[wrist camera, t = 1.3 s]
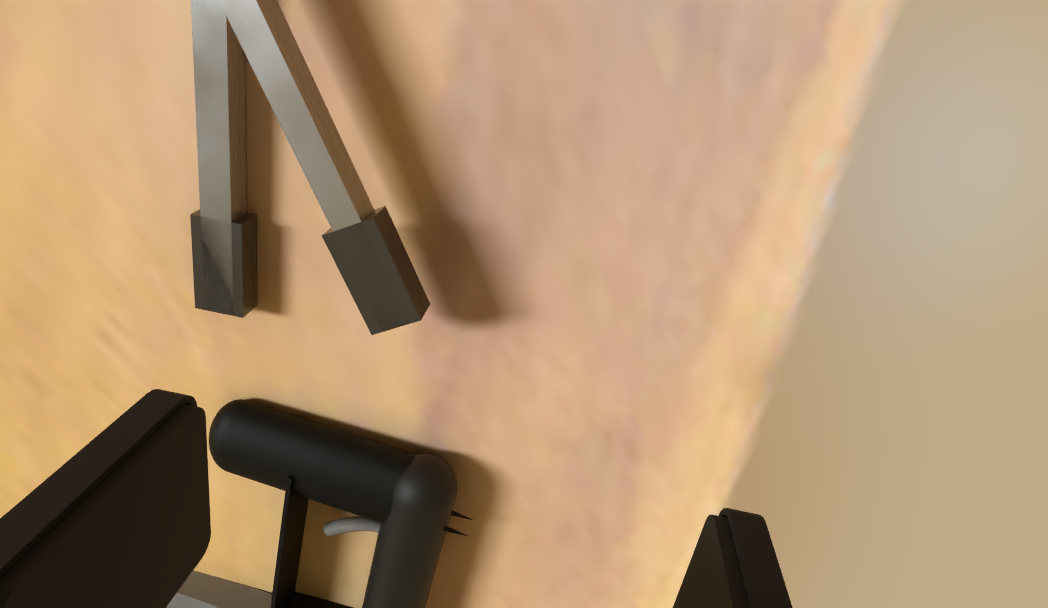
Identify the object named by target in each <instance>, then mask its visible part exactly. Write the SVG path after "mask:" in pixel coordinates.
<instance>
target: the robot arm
mask: <svg viewBox="0 0 1048 608" xmlns="http://www.w3.org/2000/svg"><path fill="white" fill-rule="evenodd" d="M210 537H211V525H210V503H209V481H208V459H207V437H206V416H205V411H204V410H203V409H202V408H200V407H197V403H196V400H195V399H194V397H192V396H188V395H184V394H179V393H174V392H169V391H165V390H160V389H155V390H152V391H150V392H149V393H147V394H146V395H145V396H144V397H142V398H141V399H140V400H139V401H138V402H137V403H135V404H134V405H133V406H132V407H131V408H130V409H128V410H127V411H126V412H125V413H124V414H123V415H121V416H120V417H119V418H118V419H117V420H116V421H114V422H113V423H112V424H111V425H110V426H108V427H107V428H106V429H105V430H104V431H103V432H101V433H100V434H99V435H98V436H97V437H96V438H94V439H93V440H92V441H91V442H90V443H89V444H87V445H86V446H85V447H84V448H83V449H81V450H80V451H79V452H78V453H77V454H76V455H74V456H73V457H72V458H71V459H70V460H69V461H67V462H66V463H65V464H64V465H63V466H62V467H60V468H59V469H58V470H57V471H56V472H54V473H53V474H52V475H51V476H50V477H49V478H47V479H46V480H45V481H44V482H43V483H42V484H40V485H39V486H38V487H37V488H36V489H35V490H33V491H32V492H31V493H30V494H29V495H28V496H26V497H25V498H24V499H23V500H22V501H20V502H19V503H18V504H17V505H16V506H15V507H13V508H12V509H11V510H10V511H9V512H8V513H6V514H5V515H4V516H3V517H2V518H1V519H0V608H166V607H167V606H168V604H169V603H170V601H171V600H172V599H173V597H174V596H175V594H176V593H177V592H178V590H179V589H180V588H181V586H182V585H183V583H184V582H185V581H186V579H187V578H188V577H189V575H190V574H191V572H192V571H193V570H194V568H195V567H196V566H197V564H198V563H199V561H200V560H201V559H202V557H203V555H204V554H205V552H206V550H207V547H208V544H209V541H210ZM673 608H792V605H791V602H790V598H789V595H788V592H787V589H786V586H785V582H784V580H783V576H782V573H781V570H780V567H779V563H778V560H777V557H776V554H775V551H774V547H773V544H772V541H771V538H770V534H769V531H768V528H767V525H766V522H765V520H764V518H763V517H762V516H761V515H758V514H753V513H748V512H743V511H739V510H734V509H729V508H723V510H722V511H721V512H720V514H719V516H716V515H709V516H708V517H707V519H706V521H705V524H704V527H703V529H702V532H701V535H700V537H699V540H698V543H697V545H696V548H695V550H694V553H693V556H692V558H691V561H690V564H689V566H688V569H687V572H686V574H685V577H684V580H683V582H682V585H681V587H680V590H679V593H678V595H677V598H676V601H675V603H674V606H673Z"/></svg>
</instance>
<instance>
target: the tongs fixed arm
mask: <svg viewBox="0 0 1048 608" xmlns="http://www.w3.org/2000/svg"><path fill="white" fill-rule="evenodd" d="M191 13H192V35H193V57H194V80H195V102H196V124H197V147H198V169H199V191H200V210H198V211H196V212H194V213H192V214H190V215H191V235H192V254H193V273H194V293H195V308H198V309H203V310H208V311H213V312H218V313H223V314H228V315H232V316H237V317H242V318H243V317H244V316H246V315H247V314H248V313H249V312H250V311H251V310H252V309H254V308H255V307H256V306H257V215H252V214H247V194H246V120H245V52H244V50H243V48H242V46H241V44H240V42H239V40H238V38H237V36H236V34H235V32H234V30H233V28H232V26H231V24H230V22H229V20H228V18H227V16H226V14H225V12H224V10H223V8H222V6H221V4H220V2H219V0H191Z"/></svg>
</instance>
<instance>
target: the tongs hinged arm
mask: <svg viewBox="0 0 1048 608" xmlns="http://www.w3.org/2000/svg"><path fill="white" fill-rule="evenodd" d="M219 2H220V4H221V6H222V8H223V10H224V12H225V14H226V16H227V18H228V20H229V22H230V24H231V26H232V28H233V30H234V32H235V34H236V36H237V38H238V40H239V42H240V44H241V46H242V48H243V50H244V52H245V54H246V56H247V58H248V61H249V63H250V65H251V67H252V69H253V71H254V73H255V75H256V77H257V79H258V81H259V83H260V85H261V87H262V89H263V91H264V93H265V95H266V97H267V99H268V101H269V103H270V105H271V107H272V109H273V111H274V113H275V115H276V117H277V119H278V121H279V123H280V125H281V127H282V129H283V131H284V133H285V135H286V137H287V139H288V141H289V143H290V145H291V147H292V149H293V152H294V154H295V156H296V158H297V160H298V162H299V164H300V166H301V168H302V170H303V172H304V174H305V176H306V178H307V180H308V182H309V184H310V186H311V188H312V190H313V192H314V194H315V196H316V198H317V200H318V202H319V204H320V206H321V208H322V210H323V212H324V214H325V216H326V218H327V220H328V222H329V224H330V226H331V228H330V229H329V230H328V231H327V232H325V233H324V234H323V235H322V237H323V239H324V241H325V243H326V245H327V247H328V249H329V251H330V253H331V255H332V257H333V259H334V261H335V263H336V265H337V267H338V269H339V271H340V273H341V275H342V277H343V279H344V281H345V283H346V285H347V287H348V289H349V291H350V293H351V295H352V297H353V299H354V301H355V303H356V305H357V307H358V309H359V311H360V313H361V315H362V317H363V319H364V321H365V323H366V325H367V327H368V329H369V331H370V333H371V335H374V334H377V333H380V332H384V331H387V330H390V329H394V328H397V327H400V326H404V325H407V324H410V323H414V322H417V321H420V320H421V319H422V318H423V316H424V314H425V312H426V311H427V309H428V307H429V305H430V303H429V300H428V298H427V296H426V294H425V292H424V289H423V287H422V285H421V283H420V281H419V278H418V276H417V274H416V272H415V270H414V267H413V265H412V263H411V261H410V259H409V257H408V254H407V252H406V250H405V248H404V246H403V243H402V241H401V239H400V237H399V235H398V232H397V230H396V228H395V226H394V224H393V222H392V219H391V217H390V215H389V213H388V211H387V208H386V206H384V207H382V208H379V209H376V210H374V208H373V206H372V204H371V202H370V200H369V197H368V195H367V193H366V191H365V189H364V187H363V185H362V182H361V180H360V178H359V176H358V174H357V172H356V169H355V167H354V165H353V163H352V161H351V159H350V157H349V154H348V152H347V150H346V148H345V146H344V144H343V141H342V139H341V137H340V135H339V133H338V131H337V129H336V126H335V124H334V122H333V120H332V118H331V116H330V113H329V111H328V109H327V107H326V105H325V103H324V101H323V98H322V96H321V94H320V92H319V90H318V88H317V85H316V83H315V81H314V79H313V77H312V75H311V73H310V70H309V68H308V66H307V64H306V62H305V60H304V57H303V55H302V53H301V51H300V49H299V47H298V45H297V42H296V40H295V38H294V36H293V34H292V32H291V29H290V27H289V25H288V23H287V21H286V19H285V17H284V14H283V12H282V10H281V8H280V6H279V4H278V1H277V0H219Z"/></svg>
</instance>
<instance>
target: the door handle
mask: <svg viewBox="0 0 1048 608" xmlns="http://www.w3.org/2000/svg"><path fill="white" fill-rule="evenodd" d="M209 447H210V452H211V455H212V457H213V459H214V461H215V462H216V464H217V465H218V466H219V467H220V468H222V469H223V470H225V471H227V472H230V473H233V474H236V475H239V476H242V477H245V478H248V479H251V480H254V481H257V482H260V483H263V484H266V485H269V486H272V487H275V488H278V489H281V490H284V491H286V492H285V500H284V507H283V515H282V523H281V531H280V538H279V546H278V554H277V562H276V569H275V577H274V585H273V593H272V594H270V593H267V592H264V591H261V590H258V589H256V588H253V587H250V586H247V585H244V584H240V583H236V582H233V581H229V580H226V579H222V578H218V577H215V576H211V575H208V574H204V573H200V572H197V571H192V572H191V574H190V575H189V577H188V578H187V579H186V581H185V582H184V583H183V585H182V586H181V588H180V589H179V590H178V592H177V593H176V594H175V596H174V597H173V599H172V600H171V601H170V603H169V604H168V606H167V607H166V608H353V607H349V606H346V605H342V604H339V603H335V602H331V601H328V600H324V599H321V598H317V597H313V596H310V595H306V594H303V593H299V592H295V586H296V579H297V573H298V566H299V559H300V553H301V546H302V539H303V533H304V526H305V519H306V513H307V506H308V499H311V500H314V501H317V502H320V503H323V504H326V505H329V506H332V507H335V508H338V509H341V510H344V511H347V512H350V513H353V514H356V515H359V516H362V517H351V518H344V519H338V520H334V521H330V522H327V523H325V525H324V533H325V534H326V536H333V535H337V534H341V533H347V532H355V531H373V532H379V533H378V538H377V542H376V547H375V552H374V556H373V561H372V566H371V570H370V575H369V579H368V584H367V589H366V593H365V598H364V602H363V607H362V608H425V606H426V602H427V599H428V595H429V592H430V588H431V584H432V581H433V577H434V574H435V570H436V566H437V563H438V559H439V555H440V552H441V548H442V545H443V541H444V537H445V534H446V531H447V532H452V533H456V534H461V535H465V534H463V533H461V532H458V531H456V530H454V529H452V528H449V527H447V526H448V523H449V519H450V516H451V515H453V516H457V517H462V518H466V519H470V518H468V517H466V516H463V515H461V514H459V513H457V512H454V511H452V508H453V505H454V501H455V498H456V493H457V482H456V477H455V474H454V472H453V470H452V469H451V467H450V466H449V465H448V464H447V463H446V462H445V461H444V460H443V459H441V458H439V457H437V456H435V455H431V454H417V455H412V454H409V453H406V452H403V451H400V450H397V449H394V448H391V447H388V446H385V445H382V444H379V443H376V442H373V441H370V440H367V439H364V438H360V437H357V436H354V435H351V434H348V433H345V432H342V431H339V430H336V429H333V428H330V427H327V426H324V425H321V424H318V423H315V422H312V421H309V420H306V419H302V418H299V417H296V416H293V415H290V414H287V413H284V412H281V411H278V410H275V409H272V408H269V407H266V406H263V405H260V404H257V403H254V402H251V401H248V400H242V399H240V400H234V401H231V402H229V403H227V404H226V405H225V406H223V407H222V408H221V409H220V410H219V412H218V413H217V414H216V416H215V418H214V420H213V422H212V425H211V428H210V433H209ZM470 520H472V519H470ZM465 536H467V535H465Z"/></svg>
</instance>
